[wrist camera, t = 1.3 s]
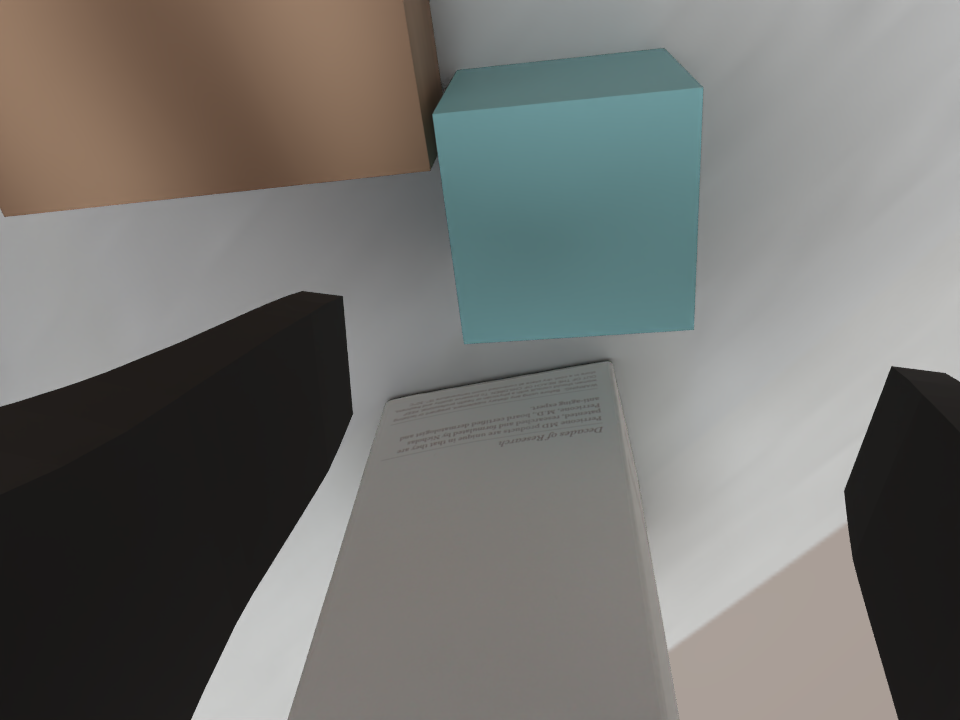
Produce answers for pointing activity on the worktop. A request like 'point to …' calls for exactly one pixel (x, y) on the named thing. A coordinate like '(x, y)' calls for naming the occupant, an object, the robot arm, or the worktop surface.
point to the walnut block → (209, 97)
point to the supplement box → (495, 564)
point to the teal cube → (572, 195)
